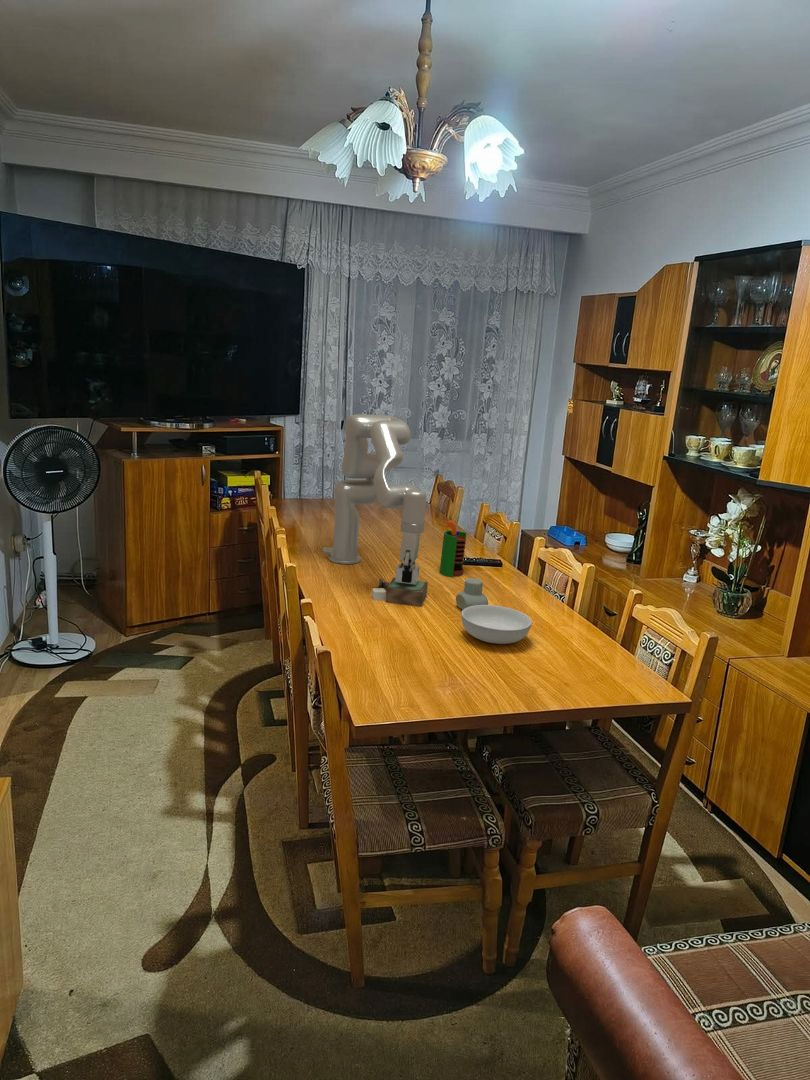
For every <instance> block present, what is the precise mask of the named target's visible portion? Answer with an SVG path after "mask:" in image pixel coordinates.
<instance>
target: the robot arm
mask: <svg viewBox="0 0 810 1080" xmlns="http://www.w3.org/2000/svg"><path fill="white" fill-rule="evenodd" d="M344 424H345V425H344V432H345V433H344V434H345V445H344V452H343V458H342V463H341V473H342V475H343V476H344V477H345V478H347V479H344V480H343V479H342V480H340V481H338V482H337V483H336V484H335V485H334V487H333V498H334V528H333V529H334V530H333V546H331V547H328V546H323V547H322V552H323V553H324V554H329V555H328V560H329V561H330V562H332V563H336V564H341V565H352V564H358V563H360V562H362V556H360V555H358V551H359V550H358V549H359V535H360V534H359V532H360V520H361V519H360V514H359V512H358V510H357V509H356V507H355V506H358V505H360V506H361V505H372V504H375V503H376V502H377V500H378V503H379V504H380V505H381V506H382V507H383V508H386V509H394V508H401V509H402V510H401V520H400V521H401V522H400V523H401V524H400V532H402V537H401V543H400V553H399V558H398V560H399V562H400V563H404V564H403V570H402V582H406V583H411V580H412V571H411V570H412V563H413V564H416V560H417V558H418V555H419V550H420V549H419V548H420V537H421V535H422V534H423V533H424V530H425V517H426V509H427V508H426V505H427V497H428V495H427V492H425V491H424V490H422V489H419V488H418V487H417V486H415V485H413V484H388V482H387V479H386V478H387V477H386V472H389V471H390V470H393V469H394V468H396V467H398V466H399V465H401V464H402V462H403V459H404V454H403V452H402V449H401V447H400V446H404V445H407V444H408V443H409V442H410V440H411V430H410V427H409V425H408V423H406V422H405V421H404V420H402V419H399V418H397V417H395V416H392V415H390V414H389V415H386V414H384V415H383V414H370V413H369V414H367V413H366V414H365V413H362V414H359V413H358V414H352V415H349V416H348V418H347V419H346V420H345V423H344ZM368 439H371V442H372V445H373V448H374V451H375V453H372V452H371V453H370V452H369V450H368V449H369V441H368ZM409 564H410V565H409Z"/></svg>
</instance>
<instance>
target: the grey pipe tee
mask: <svg viewBox="0 0 810 1080" xmlns="http://www.w3.org/2000/svg"><path fill="white" fill-rule="evenodd" d="M483 585H484V582H483V581H482V580H481V579H479V578H473V577H469V578H466V579H465V580H464V586H463V590H462V591H460V592H459V593H457V594H456V595H455V603H456V605H457V606H458V608H460V609H461V611H463V610H464V609H465V608H467V607H470V606H475V605H489V599H488V597H487V596H486V595H485V594H484V593H483V587H484V586H483Z"/></svg>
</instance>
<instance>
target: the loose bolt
mask: <svg viewBox="0 0 810 1080" xmlns="http://www.w3.org/2000/svg"><path fill="white" fill-rule="evenodd" d="M389 584H390V582H384V579H383V578H382V579H381V578H379V580H378V587H380V588H387V587H388V585H389Z"/></svg>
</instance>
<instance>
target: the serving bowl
mask: <svg viewBox="0 0 810 1080" xmlns="http://www.w3.org/2000/svg"><path fill="white" fill-rule="evenodd" d="M460 614H461V615H460V617H461V622H462V626H463V627H464V630H466V632H467V633H468V634H469V635H470V636H472V637H473V638H475V639H478V640H480V641H483V642H486V643H491V644H496V645H498V644H500V645H507V644H513V643H517V642H519V641H522V640H523V639H524V638H525V637H527V635H528V634H529V632H530V630H531V628H532V623H533V620H532V619H531V617H530V616H528V615H527V614H525V613H524V612H521V611H519V610H516V609H514V608H511V607H506V606H500V605H494V604H488V605H475V606H470V607H467V608H465V609H464V610H461V613H460Z"/></svg>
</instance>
